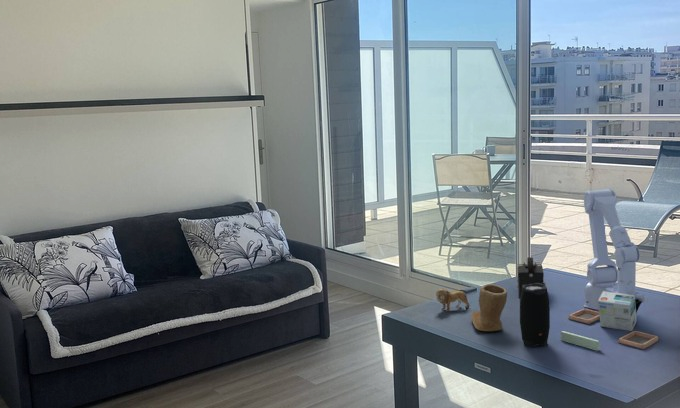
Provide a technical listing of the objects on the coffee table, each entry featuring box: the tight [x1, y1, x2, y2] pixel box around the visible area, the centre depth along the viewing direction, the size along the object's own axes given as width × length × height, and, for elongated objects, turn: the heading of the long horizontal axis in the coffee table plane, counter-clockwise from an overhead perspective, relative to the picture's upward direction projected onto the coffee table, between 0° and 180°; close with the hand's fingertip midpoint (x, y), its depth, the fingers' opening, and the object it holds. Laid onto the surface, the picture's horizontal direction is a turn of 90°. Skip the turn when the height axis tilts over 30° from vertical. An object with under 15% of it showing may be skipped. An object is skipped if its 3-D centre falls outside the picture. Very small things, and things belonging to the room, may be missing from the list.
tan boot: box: [470, 283, 508, 332], centre depth 241 cm, size 15×12×15 cm
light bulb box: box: [598, 291, 638, 332], centre depth 233 cm, size 11×7×11 cm, turn 54°
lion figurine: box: [435, 288, 470, 312], centre depth 262 cm, size 15×5×9 cm, turn 116°
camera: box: [516, 256, 547, 299], centre depth 274 cm, size 11×14×15 cm
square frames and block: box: [560, 308, 659, 351], centre depth 229 cm, size 32×29×3 cm
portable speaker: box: [519, 283, 551, 348], centre depth 222 cm, size 9×9×20 cm
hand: (626, 317), depth 238 cm, fingers open, 4 cm apart
